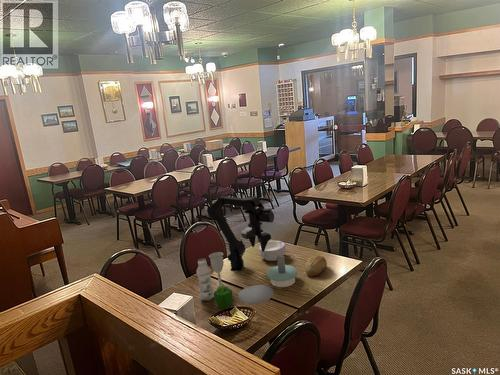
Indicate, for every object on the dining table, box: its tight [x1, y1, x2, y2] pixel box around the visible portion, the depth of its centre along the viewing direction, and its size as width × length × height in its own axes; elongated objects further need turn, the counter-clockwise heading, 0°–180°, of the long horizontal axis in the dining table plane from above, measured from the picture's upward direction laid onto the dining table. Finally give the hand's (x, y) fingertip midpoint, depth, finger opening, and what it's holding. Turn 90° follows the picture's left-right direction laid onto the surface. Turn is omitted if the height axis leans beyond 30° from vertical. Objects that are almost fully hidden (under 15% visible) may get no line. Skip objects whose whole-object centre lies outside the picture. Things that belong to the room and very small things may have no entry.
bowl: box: [269, 276, 296, 288], centre depth 176 cm, size 12×12×4 cm
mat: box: [237, 284, 275, 305], centre depth 168 cm, size 17×17×1 cm
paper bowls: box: [258, 240, 287, 262], centre depth 205 cm, size 15×15×8 cm
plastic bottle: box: [196, 258, 215, 302], centre depth 167 cm, size 6×7×20 cm
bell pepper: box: [213, 282, 234, 309], centre depth 160 cm, size 8×8×10 cm
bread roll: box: [304, 255, 328, 277], centre depth 183 cm, size 10×15×8 cm, turn 142°
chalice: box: [208, 251, 226, 290], centre depth 176 cm, size 7×7×18 cm
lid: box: [266, 255, 298, 281], centre depth 175 cm, size 15×15×9 cm
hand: (258, 249), depth 188 cm, fingers open, 9 cm apart
